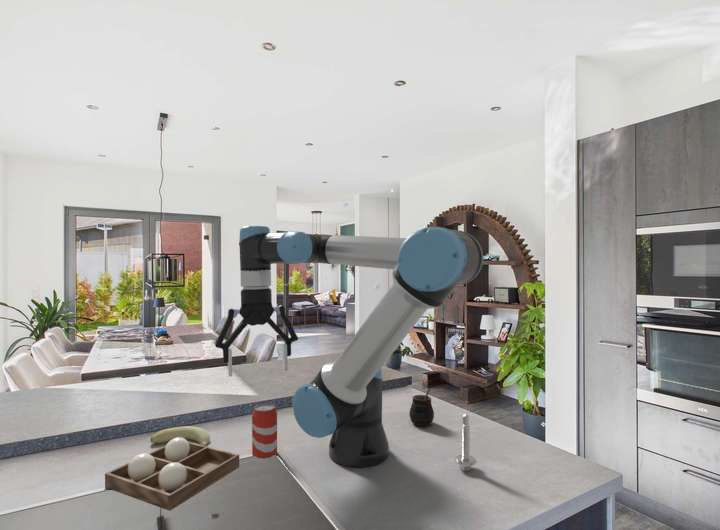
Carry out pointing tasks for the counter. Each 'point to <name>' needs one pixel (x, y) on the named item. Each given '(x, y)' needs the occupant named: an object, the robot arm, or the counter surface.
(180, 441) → the egg
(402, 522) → the counter surface
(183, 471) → the egg
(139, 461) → the egg
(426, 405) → the mate gourd
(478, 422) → the counter surface
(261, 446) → the beverage can
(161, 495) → the crate
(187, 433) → the fruit
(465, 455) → the screw
